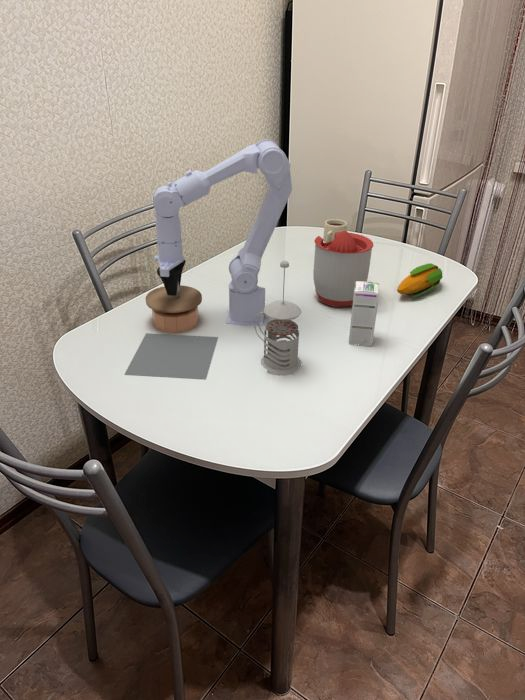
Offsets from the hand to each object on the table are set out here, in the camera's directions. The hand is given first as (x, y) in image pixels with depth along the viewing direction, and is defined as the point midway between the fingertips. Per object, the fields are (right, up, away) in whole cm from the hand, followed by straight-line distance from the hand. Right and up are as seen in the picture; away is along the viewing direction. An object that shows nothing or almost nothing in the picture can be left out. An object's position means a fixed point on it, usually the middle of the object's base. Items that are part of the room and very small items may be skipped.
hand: (173, 291), depth 130 cm
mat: (+2, -16, -9) cm, 18 cm away
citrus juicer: (+43, 0, +18) cm, 47 cm away
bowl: (0, -7, +5) cm, 9 cm away
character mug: (+45, +15, +41) cm, 63 cm away
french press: (+26, -17, -10) cm, 33 cm away
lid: (0, -2, +1) cm, 2 cm away
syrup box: (+46, -12, -1) cm, 48 cm away
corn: (+68, +2, +22) cm, 71 cm away
